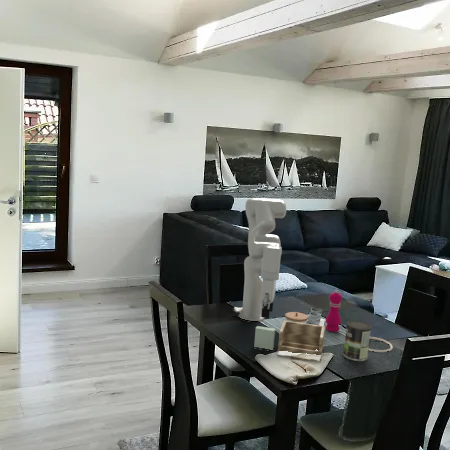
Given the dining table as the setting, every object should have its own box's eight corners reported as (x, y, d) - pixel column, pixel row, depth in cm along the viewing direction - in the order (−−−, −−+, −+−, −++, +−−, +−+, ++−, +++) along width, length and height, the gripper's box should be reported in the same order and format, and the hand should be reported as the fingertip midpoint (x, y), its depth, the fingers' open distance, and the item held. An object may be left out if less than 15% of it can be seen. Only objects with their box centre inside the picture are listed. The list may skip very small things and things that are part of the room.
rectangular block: (254, 348, 236) (255, 328, 235) (255, 345, 239) (256, 325, 237) (272, 351, 234) (274, 330, 233) (273, 348, 237) (275, 328, 236)
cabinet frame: (277, 354, 230) (279, 332, 229) (282, 342, 245) (284, 320, 244) (320, 361, 226) (322, 338, 225) (322, 348, 241) (325, 326, 240)
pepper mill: (340, 333, 262) (344, 292, 259) (324, 331, 263) (328, 290, 260) (340, 328, 269) (344, 288, 266) (325, 326, 270) (329, 286, 267)
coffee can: (347, 360, 229) (350, 328, 227) (340, 351, 239) (343, 320, 237) (371, 361, 230) (375, 329, 228) (363, 351, 240) (366, 321, 238)
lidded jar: (309, 330, 263) (311, 311, 261) (302, 337, 253) (304, 317, 252) (287, 325, 267) (289, 307, 266) (280, 332, 258) (282, 313, 256)
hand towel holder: (375, 346, 237) (341, 330, 254) (374, 355, 238) (340, 339, 255) (401, 340, 246) (367, 325, 263) (400, 349, 247) (366, 334, 264)
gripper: (264, 269, 240) (261, 307, 243) (257, 278, 224) (254, 319, 226) (281, 271, 239) (278, 309, 241) (276, 280, 222) (272, 321, 224)
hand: (266, 314), depth 234 cm, fingers open, 9 cm apart
